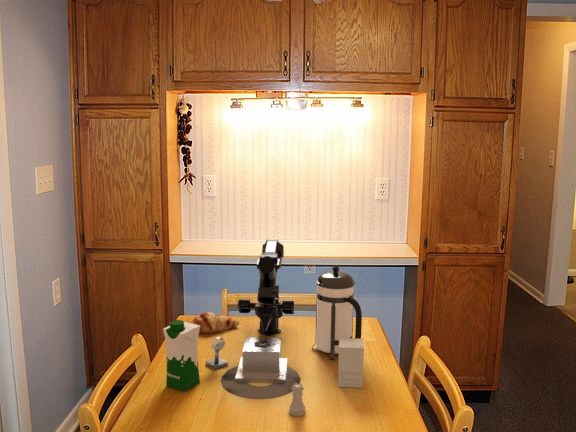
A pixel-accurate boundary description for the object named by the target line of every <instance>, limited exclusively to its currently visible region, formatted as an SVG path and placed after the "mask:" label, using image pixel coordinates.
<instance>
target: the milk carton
mask: <svg viewBox="0 0 576 432" xmlns="http://www.w3.org/2000/svg"><path fill="white" fill-rule="evenodd" d="M199 330H200V325H196V324H192V323H188V322H187V321H184V320H181V319H174V320H172V321H169V325H168V326H166V327H164V328H162V331H163V335H164V339H165V350H166V351H165V352H166V354H165V355H166V357H165V358H166V380H165V382H166V383H165V385H166V386H165V387H168V388H169V389H173V390H176V391H180V392H183V393H185V392H188V390H191V389H192V388H193V387H195V386H197V385H198V384H200V383H201V379H200V378H201V377H200V369H199V347H198V346H199V342H198V341H199V334H200V333H199Z"/></svg>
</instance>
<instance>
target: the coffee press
mask: <svg viewBox="0 0 576 432" xmlns="http://www.w3.org/2000/svg"><path fill="white" fill-rule="evenodd" d="M315 283H316V287H317V289H316V296H315V297H316V298H315V340H314V341H315V342H314V344H313V345H312V346H311V350H312V351H317V350H320V351H321V352H324V353H327V354H329V360H330V361H334V360H335V355H336V354H337V355H339V338H353V337H354V338H355V339H362V325H363V324H362V323H363V321H362V320H363V315H362V308H361V306H360V304H359V302H358V301H357V300H356V299H355V292H354V288H355V285H356V282H355V280H354V277H353V276H352V275H351V274H349V273H347V272H344V271H340V268H339V266H338V265H334V266H333V267H332V268H331V271H325V272H322V273H321V274H319V276H318V277H317V279H316V280H315ZM354 311H355V330H354V324H353V321H354ZM354 331H355V332H354ZM353 332H354V333H355V335H354V334H353ZM353 335H354V336H353ZM315 345H316V348H314V346H315Z"/></svg>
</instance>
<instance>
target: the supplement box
mask: <svg viewBox="0 0 576 432" xmlns="http://www.w3.org/2000/svg"><path fill="white" fill-rule="evenodd" d="M364 356H365V347H364V341H363V338H361V339H355V337H354V338H339V353H338V368H337V370H338V371H337V372H338V373H337V374H338V375H337V377H338V378H337V379H338V388H357V389H363V387H364V386H363V385H364V359H365V358H364Z"/></svg>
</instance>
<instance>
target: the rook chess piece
mask: <svg viewBox="0 0 576 432" xmlns="http://www.w3.org/2000/svg"><path fill="white" fill-rule="evenodd" d="M291 389H292V390H293V392H291V393H292V400H291V401H292V402H291V403H290V405H289V408H288V412H289V414H290V415H291V416H293V417H302V416H303V415H305V414H306V406H305V404H304V401H303V395H304V394H303V391H304V386H303V384H302V383H301V382H300V383H299V384H297V383H295V384H293V386H292V388H291Z"/></svg>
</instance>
